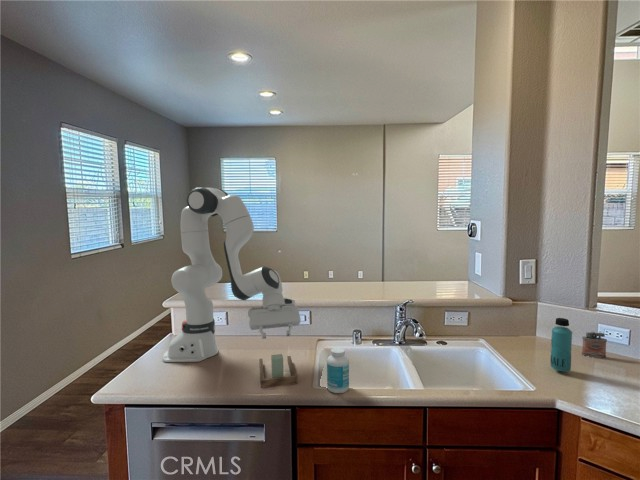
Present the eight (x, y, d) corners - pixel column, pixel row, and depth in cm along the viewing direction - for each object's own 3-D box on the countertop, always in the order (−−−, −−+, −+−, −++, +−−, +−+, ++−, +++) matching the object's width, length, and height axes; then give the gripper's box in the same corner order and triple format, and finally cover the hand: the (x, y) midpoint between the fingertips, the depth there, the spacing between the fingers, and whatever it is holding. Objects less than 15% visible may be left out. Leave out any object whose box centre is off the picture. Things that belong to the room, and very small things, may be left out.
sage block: (272, 380, 128) (272, 359, 127) (271, 376, 132) (271, 354, 131) (283, 379, 129) (283, 358, 128) (282, 374, 133) (282, 353, 132)
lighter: (583, 356, 145) (584, 332, 145) (580, 353, 148) (581, 329, 148) (607, 359, 142) (608, 334, 142) (604, 356, 145) (605, 332, 145)
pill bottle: (347, 395, 117) (347, 355, 116) (325, 393, 119) (324, 353, 118) (350, 384, 124) (350, 346, 123) (329, 382, 126) (328, 345, 125)
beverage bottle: (567, 369, 134) (569, 316, 132) (573, 377, 127) (576, 322, 126) (547, 367, 136) (549, 315, 134) (552, 374, 130) (554, 320, 128)
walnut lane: (261, 387, 123) (260, 380, 123) (259, 364, 142) (259, 358, 142) (296, 383, 126) (296, 376, 125) (290, 361, 144) (290, 355, 144)
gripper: (247, 303, 143) (248, 335, 134) (298, 299, 147) (302, 330, 138) (248, 311, 147) (249, 343, 138) (297, 307, 151) (301, 337, 142)
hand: (276, 336), depth 138 cm, fingers open, 8 cm apart
